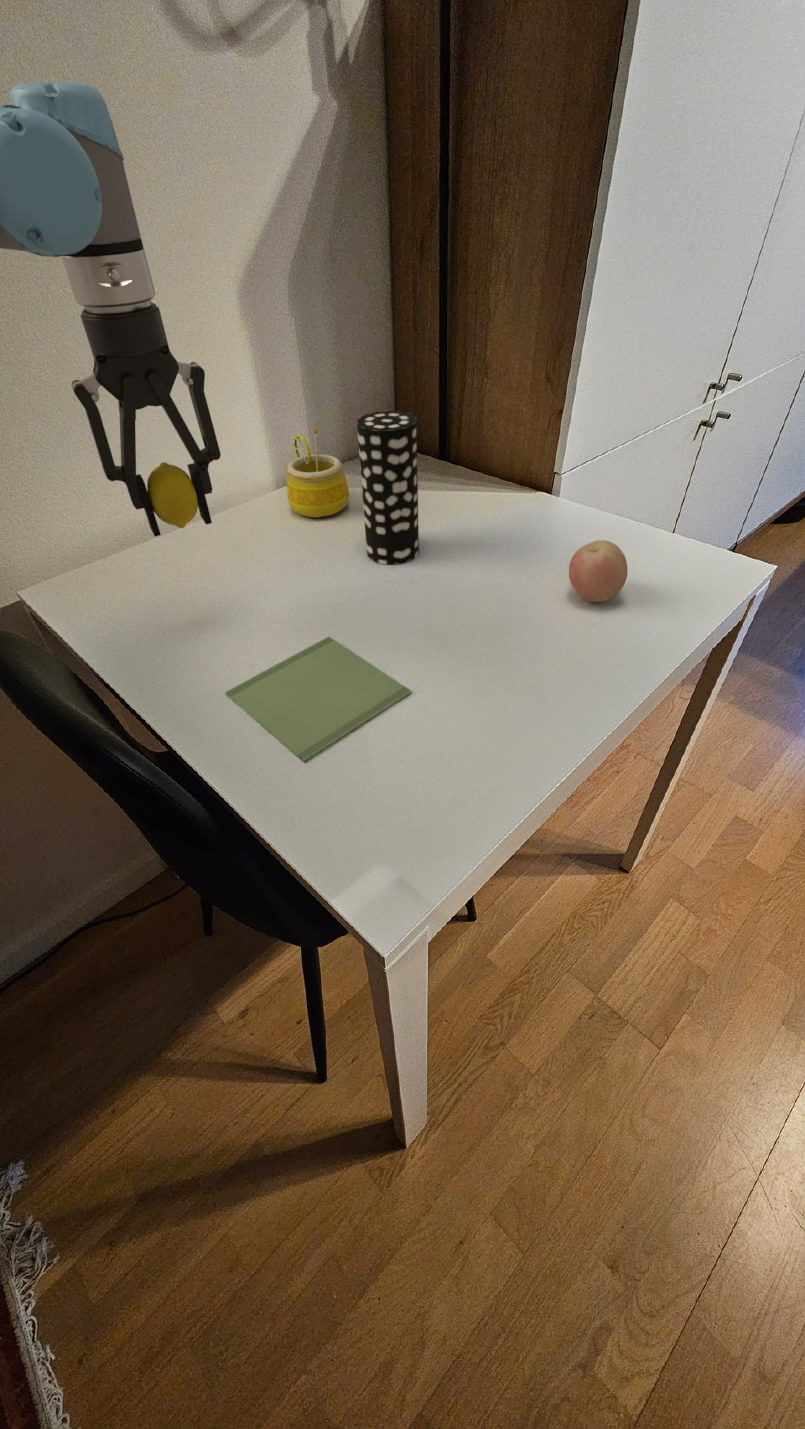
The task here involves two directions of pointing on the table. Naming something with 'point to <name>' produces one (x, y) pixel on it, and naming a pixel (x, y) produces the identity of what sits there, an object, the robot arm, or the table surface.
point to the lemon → (172, 495)
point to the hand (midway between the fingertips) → (181, 525)
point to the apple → (598, 571)
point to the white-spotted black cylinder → (389, 485)
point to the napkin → (317, 697)
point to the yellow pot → (315, 483)
